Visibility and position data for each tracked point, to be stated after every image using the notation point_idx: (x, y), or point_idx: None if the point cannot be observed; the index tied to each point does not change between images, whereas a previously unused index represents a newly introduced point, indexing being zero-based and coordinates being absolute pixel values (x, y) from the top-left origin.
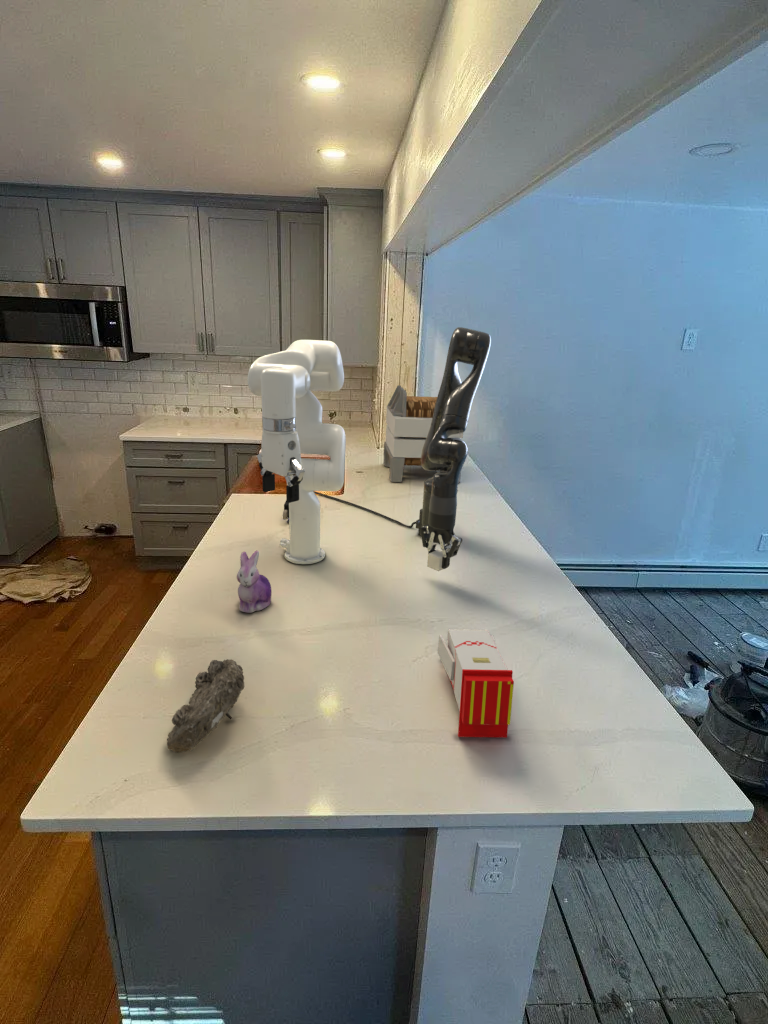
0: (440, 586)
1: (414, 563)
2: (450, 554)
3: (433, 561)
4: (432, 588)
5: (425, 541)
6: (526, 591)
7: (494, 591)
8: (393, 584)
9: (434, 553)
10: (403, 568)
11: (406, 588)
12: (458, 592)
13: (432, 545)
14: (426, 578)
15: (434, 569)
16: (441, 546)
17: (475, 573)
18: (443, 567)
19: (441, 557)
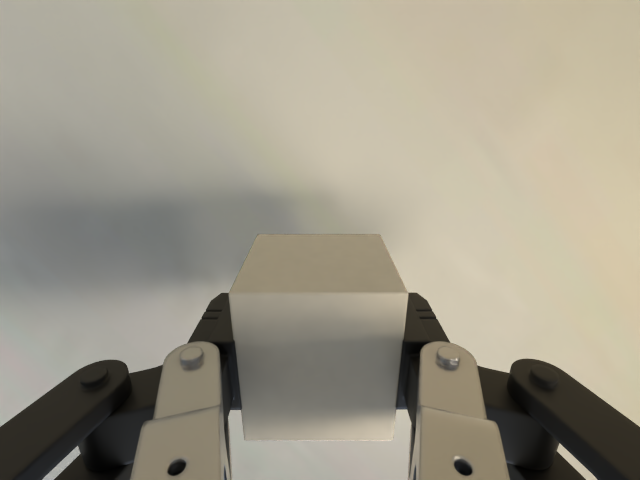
0: (275, 225)
1: (551, 325)
2: (72, 393)
3: (315, 261)
4: (288, 170)
5: (572, 435)
6: None
7: None
8: (507, 4)
9: (358, 346)
10: (573, 237)
11: (402, 33)
12: (164, 244)
13: (417, 419)
14: (394, 241)
15: (300, 235)
16: (194, 450)
17: None
18: None
19: (233, 326)
